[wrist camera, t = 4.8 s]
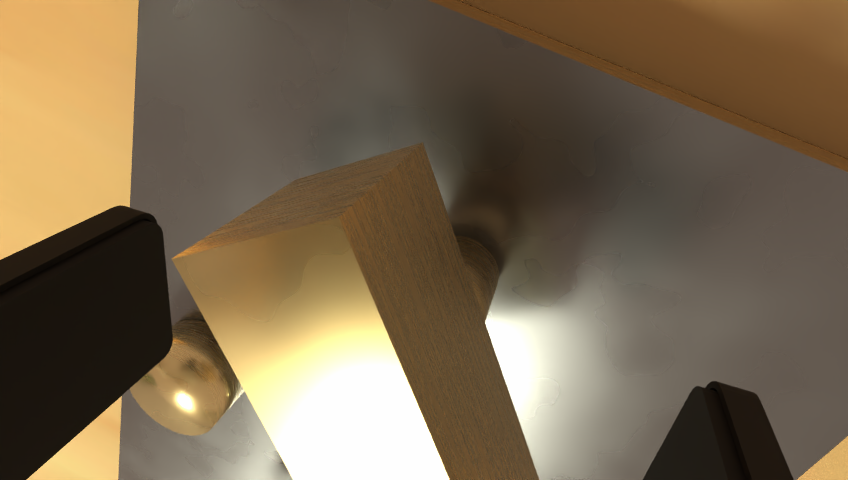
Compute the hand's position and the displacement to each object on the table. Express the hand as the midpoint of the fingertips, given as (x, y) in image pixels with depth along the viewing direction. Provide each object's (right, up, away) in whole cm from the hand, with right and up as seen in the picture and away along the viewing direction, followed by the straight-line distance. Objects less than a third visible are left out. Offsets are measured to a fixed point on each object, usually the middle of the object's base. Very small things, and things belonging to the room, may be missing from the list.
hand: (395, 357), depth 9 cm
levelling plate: (0, -3, +8) cm, 9 cm away
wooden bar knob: (+1, +1, +3) cm, 3 cm away
